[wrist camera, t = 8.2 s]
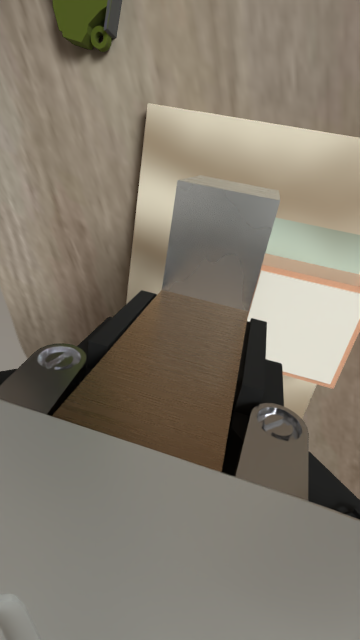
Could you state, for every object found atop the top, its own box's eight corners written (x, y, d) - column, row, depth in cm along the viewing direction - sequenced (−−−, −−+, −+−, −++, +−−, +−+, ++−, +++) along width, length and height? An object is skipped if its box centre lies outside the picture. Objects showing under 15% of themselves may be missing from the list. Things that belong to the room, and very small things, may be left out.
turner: (200, 175, 13) (41, 207, 4) (278, 190, 12) (290, 264, 4) (165, 380, 17) (55, 601, 9) (220, 396, 17) (164, 647, 8)
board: (153, 106, 19) (147, 102, 18) (409, 148, 17) (417, 147, 16) (123, 364, 27) (118, 371, 26) (298, 416, 25) (299, 425, 24)
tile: (258, 251, 20) (256, 263, 17) (362, 275, 19) (378, 292, 16) (234, 338, 22) (229, 361, 20) (325, 362, 22) (333, 390, 19)
